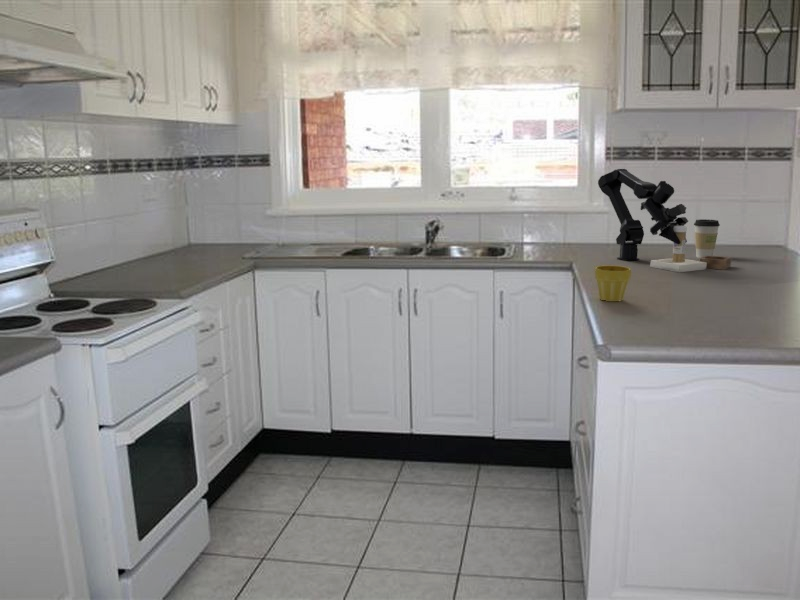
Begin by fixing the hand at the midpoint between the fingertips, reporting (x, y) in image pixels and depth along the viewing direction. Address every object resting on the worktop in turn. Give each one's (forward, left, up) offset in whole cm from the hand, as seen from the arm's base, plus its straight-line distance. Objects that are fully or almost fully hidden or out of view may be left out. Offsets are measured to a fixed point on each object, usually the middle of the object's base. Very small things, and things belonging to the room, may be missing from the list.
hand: (682, 243), depth 288 cm
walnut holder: (+4, +14, -9) cm, 17 cm away
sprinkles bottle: (-1, 0, -7) cm, 8 cm away
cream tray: (-1, 0, -9) cm, 10 cm away
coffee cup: (-16, +31, -10) cm, 36 cm away
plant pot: (+32, -63, -10) cm, 72 cm away
